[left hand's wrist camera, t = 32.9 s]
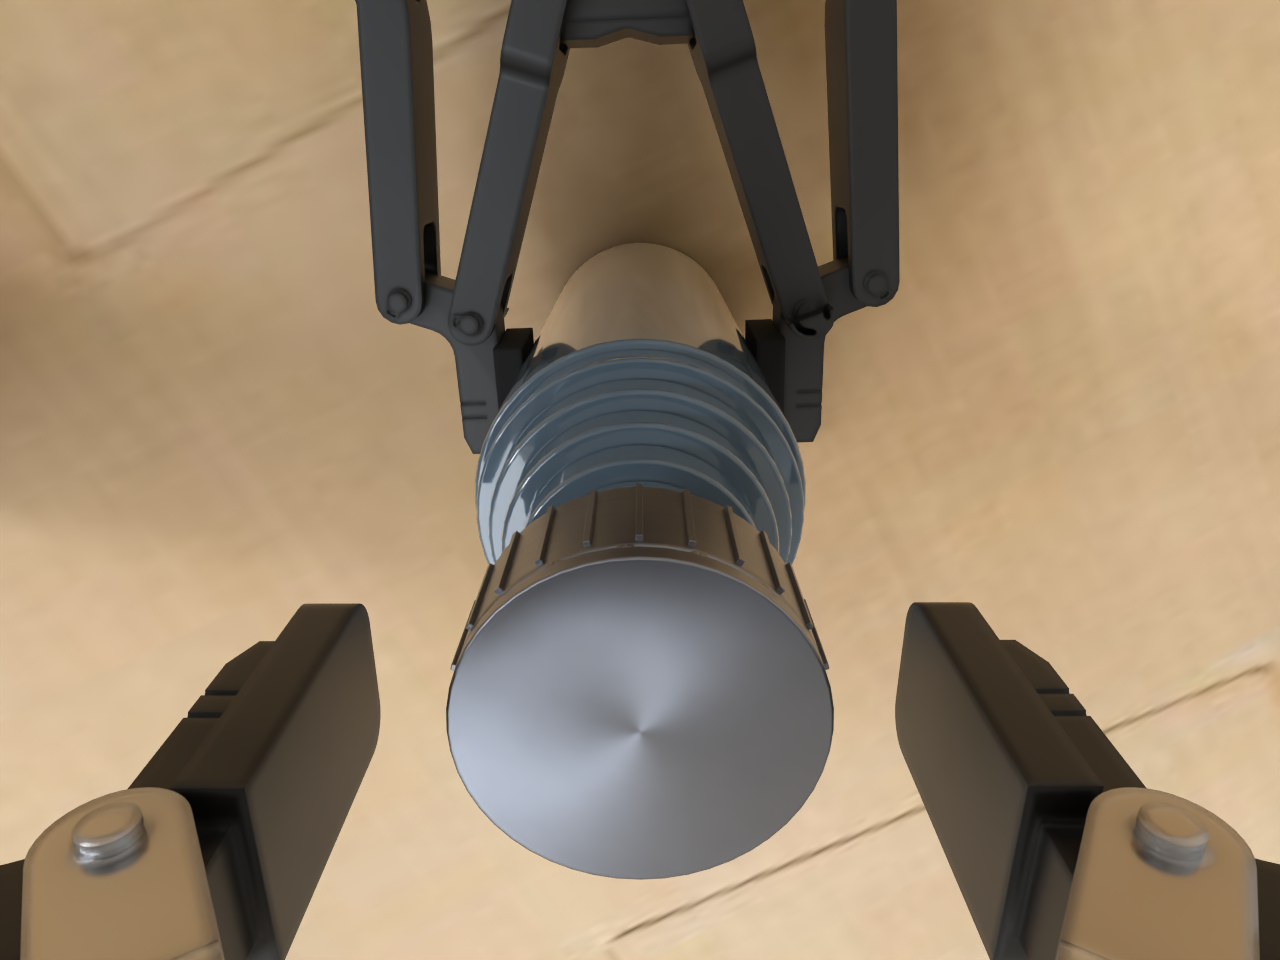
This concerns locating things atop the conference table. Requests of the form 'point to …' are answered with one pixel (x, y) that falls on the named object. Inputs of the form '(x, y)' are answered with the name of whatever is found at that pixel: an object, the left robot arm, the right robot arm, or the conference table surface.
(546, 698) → the cap
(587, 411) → the bottle
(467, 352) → the right robot arm
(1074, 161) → the conference table surface
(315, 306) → the conference table surface
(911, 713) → the left robot arm
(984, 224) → the conference table surface
